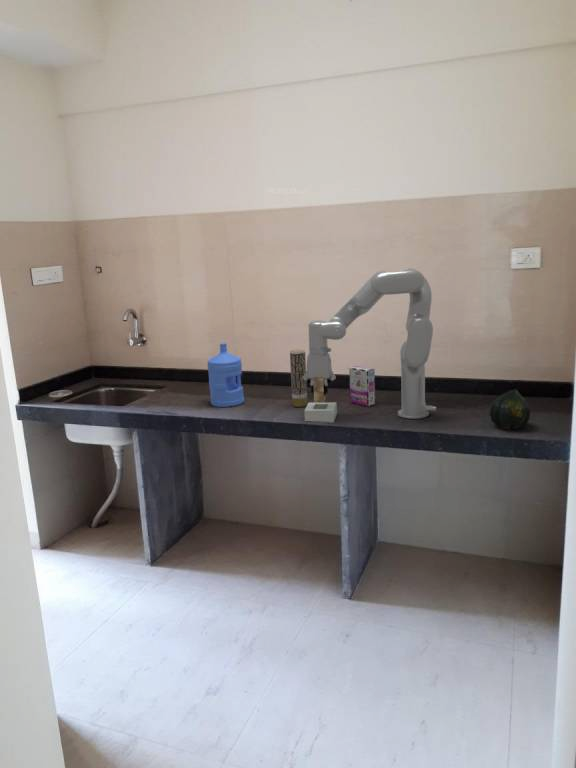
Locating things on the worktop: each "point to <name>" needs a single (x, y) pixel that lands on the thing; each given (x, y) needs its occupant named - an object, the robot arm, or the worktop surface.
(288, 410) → the worktop surface
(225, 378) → the water jug
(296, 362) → the paper tube
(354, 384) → the candy bar box
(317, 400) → the maple key peg
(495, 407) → the squash
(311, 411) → the sage socket block
